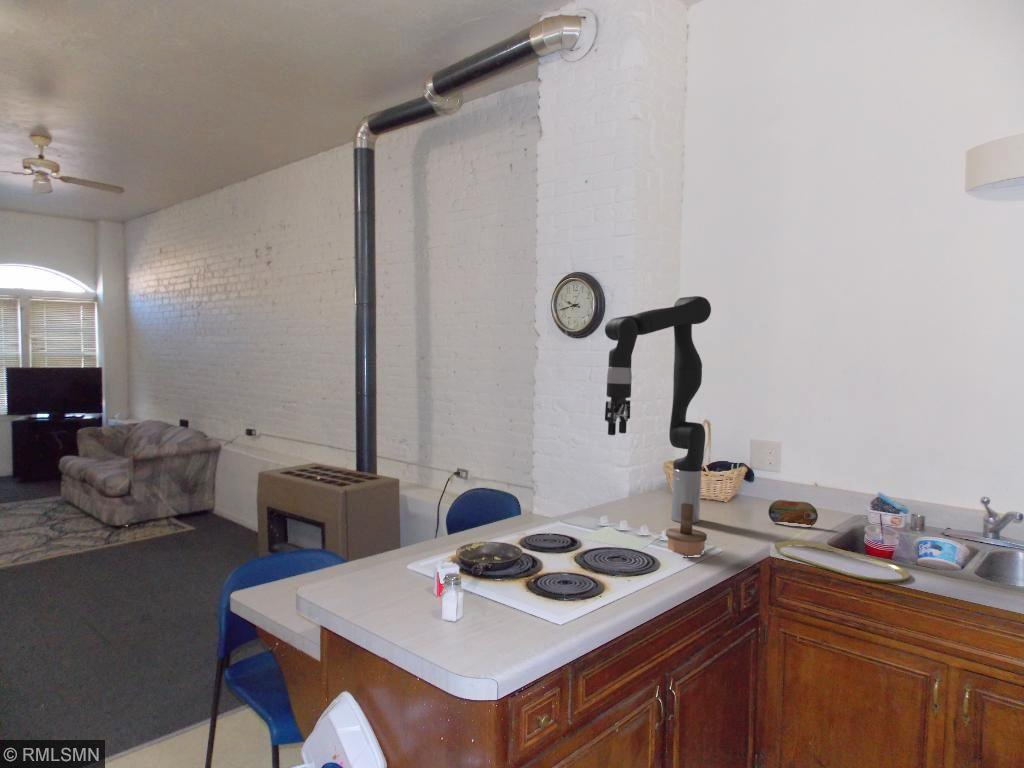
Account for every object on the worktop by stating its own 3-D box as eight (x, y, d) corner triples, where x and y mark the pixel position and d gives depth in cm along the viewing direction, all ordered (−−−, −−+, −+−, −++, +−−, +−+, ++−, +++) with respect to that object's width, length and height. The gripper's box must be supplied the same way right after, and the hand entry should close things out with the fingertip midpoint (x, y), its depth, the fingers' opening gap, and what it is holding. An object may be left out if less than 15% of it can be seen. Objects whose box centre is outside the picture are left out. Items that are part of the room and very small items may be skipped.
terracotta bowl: (674, 546, 183) (675, 530, 183) (707, 552, 178) (707, 536, 178) (664, 553, 176) (664, 537, 175) (697, 560, 171) (698, 543, 171)
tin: (767, 523, 215) (769, 499, 214) (767, 521, 218) (769, 497, 217) (817, 529, 209) (818, 504, 209) (816, 527, 212) (817, 502, 212)
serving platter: (883, 590, 153) (883, 583, 153) (760, 550, 183) (760, 545, 183) (924, 578, 163) (924, 572, 163) (800, 543, 193) (801, 538, 193)
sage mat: (606, 529, 200) (606, 526, 200) (661, 539, 190) (662, 536, 190) (580, 541, 184) (580, 538, 184) (639, 553, 175) (639, 550, 175)
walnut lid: (672, 529, 185) (674, 498, 184) (711, 535, 179) (712, 504, 178) (660, 537, 175) (661, 505, 175) (700, 544, 169) (701, 511, 169)
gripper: (621, 382, 190) (619, 437, 190) (639, 382, 202) (637, 433, 202) (598, 381, 194) (596, 434, 194) (617, 381, 206) (615, 431, 206)
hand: (617, 434), depth 198 cm, fingers open, 8 cm apart
